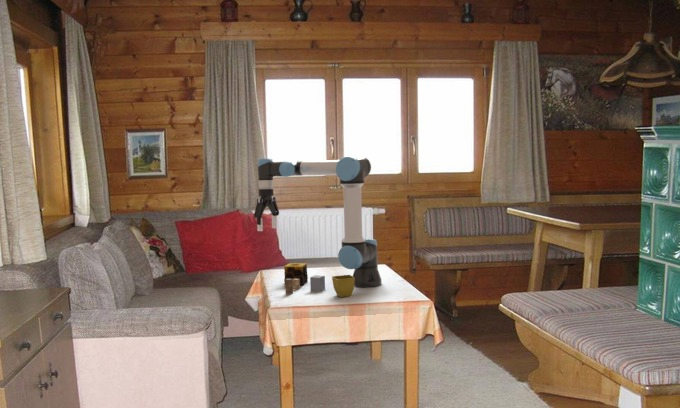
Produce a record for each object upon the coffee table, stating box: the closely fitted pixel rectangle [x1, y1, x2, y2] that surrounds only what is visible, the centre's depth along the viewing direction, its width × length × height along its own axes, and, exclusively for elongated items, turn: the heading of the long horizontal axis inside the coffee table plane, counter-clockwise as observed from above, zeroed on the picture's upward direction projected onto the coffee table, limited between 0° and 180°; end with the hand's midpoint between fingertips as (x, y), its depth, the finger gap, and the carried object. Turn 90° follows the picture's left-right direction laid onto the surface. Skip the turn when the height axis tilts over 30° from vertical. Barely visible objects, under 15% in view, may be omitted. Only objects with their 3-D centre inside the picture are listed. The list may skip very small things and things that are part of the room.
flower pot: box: [331, 274, 355, 298], centre depth 295 cm, size 9×9×9 cm
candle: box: [283, 262, 309, 287], centre depth 327 cm, size 10×10×10 cm
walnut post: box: [284, 279, 294, 295], centre depth 303 cm, size 3×3×7 cm
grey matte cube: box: [309, 274, 326, 292], centre depth 310 cm, size 5×5×7 cm
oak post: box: [293, 279, 301, 291], centre depth 313 cm, size 3×3×5 cm
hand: (267, 229), depth 328 cm, fingers open, 13 cm apart
